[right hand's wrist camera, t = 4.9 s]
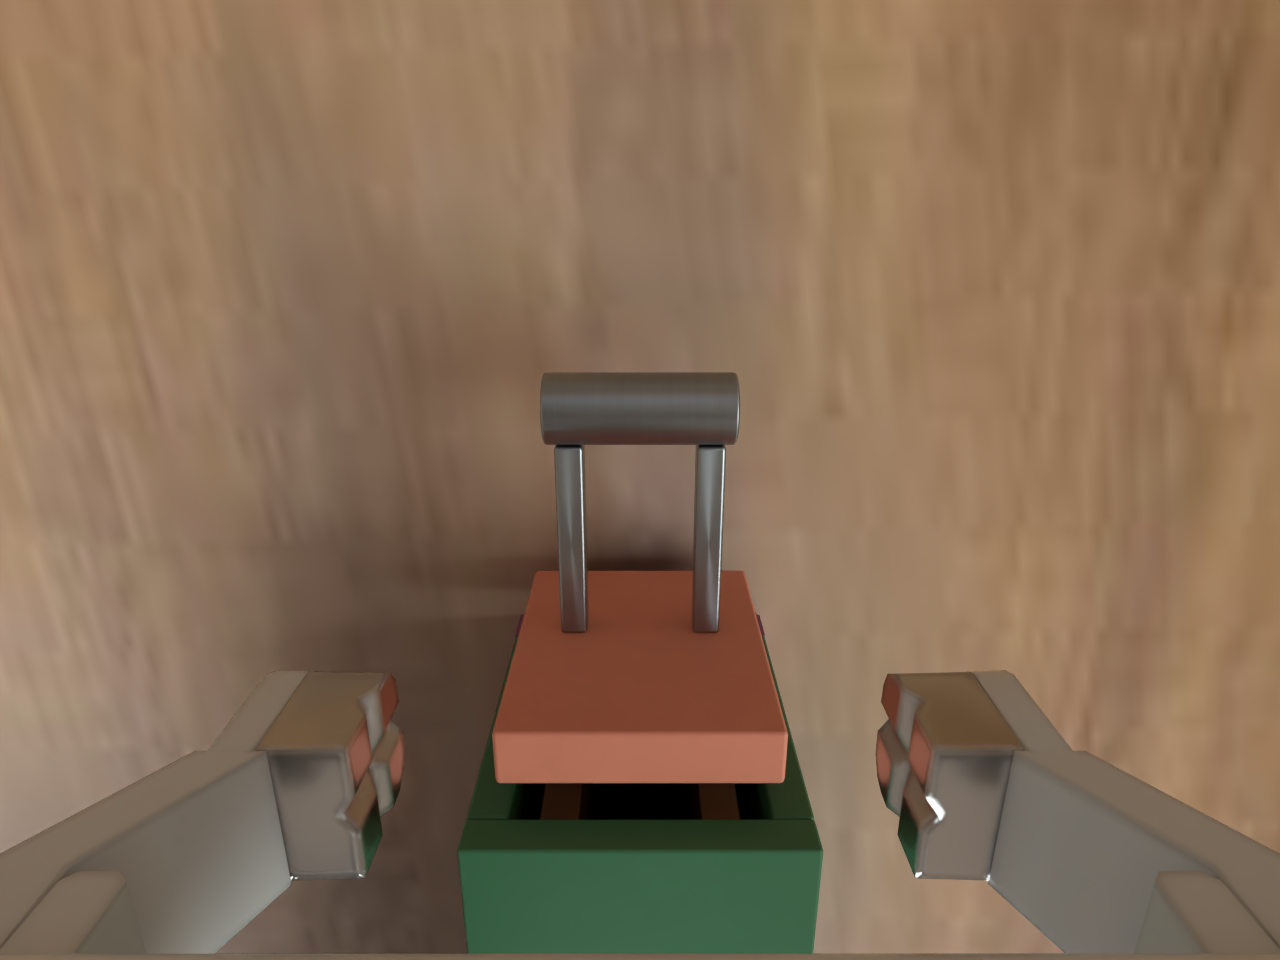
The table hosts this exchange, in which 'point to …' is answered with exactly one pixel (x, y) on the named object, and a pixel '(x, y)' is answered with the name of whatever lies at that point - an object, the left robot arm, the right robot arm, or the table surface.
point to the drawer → (640, 631)
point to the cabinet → (640, 873)
